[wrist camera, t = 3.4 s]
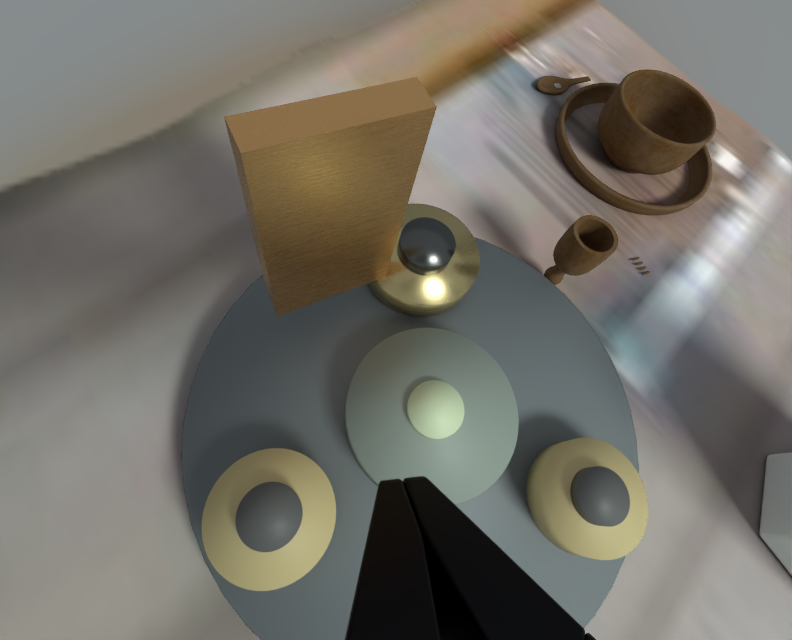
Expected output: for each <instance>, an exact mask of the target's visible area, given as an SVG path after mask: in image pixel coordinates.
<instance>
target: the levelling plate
mask: <svg viewBox="0 0 792 640" xmlns="http://www.w3.org/2000/svg"><path fill="white" fill-rule="evenodd" d="M474 239H475V241H476V244H477V246H478V250H479V256H480V266H479V271H478V274H477V277H476V279H475V281H474V283H473V284H472V286H471V287H470V289H469V290H468V291H467V293H466V294H465V296H464V297H463V298H462V300H461V301H460V302H459V303H458V304H457V305H456V306H455V307H454V308H452V309H451V310H449V311H447V312H445V313H443V314H440V315H437V316H433V317H424V318H421V317H412V316H407V315H404V314H400V313H398V312H396V311H394V310H392V309H390V308H389V307H387V306H386V305H384V304H383V303H382V302H381V301H380V300H379V299H378V298H377V297H376V296H375V295H374V294H373V293H372V291H371V290H370V288H369V286H368V284H365V285H363V286H360V287H357V288H354V289H352V290H349V291H346V292H343V293H341V294H338V295H335V296H332V297H330V298H327V299H324V300H321V301H319V302H316V303H313V304H310V305H308V306H305V307H302V308H299V309H297V310H294V311H291V312H288V313H286V314H283V315H280V316H277V314H276V312H275V310H274V307H273V305H272V303H271V300H270V298H269V296H268V293H267V289H266V284H265V280H264V276H263V275H262V276H261V277H260V278H259V279H258V280H257V281H256V282H254V283H253V284H252V285H251V286H250V287H249V288H248V289H247V290H246V291H245V292H244V294H243V295H242V296H241V297H240V298H239V299H238V300H237V302H236V303H235V304H234V305H233V306H232V307H231V308H230V310H229V311H228V313H227V314H226V316H225V317H224V319H223V320H222V322H221V323H220V325H219V326H218V328H217V329H216V331H215V332H214V334H213V336H212V338H211V340H210V342H209V344H208V346H207V348H206V350H205V352H204V354H203V356H202V358H201V360H200V363H199V366H198V369H197V372H196V375H195V377H194V380H193V383H192V386H191V389H190V394H189V399H188V404H187V409H186V413H185V418H184V428H183V443H182V467H183V481H184V492H185V497H186V501H187V506H188V511H189V515H190V520H191V525H192V528H193V531H194V533H195V536H196V539H197V541H198V544H199V547H200V550H201V552H202V555H203V558H204V560H205V562H206V564H207V566H208V568H209V570H210V572H211V573H212V575H213V577H214V579H215V581H216V583H217V584H218V586H219V588H220V590H221V592H222V594H223V595H224V597H225V598H226V599H227V600H228V602H229V603H230V604H231V606H232V607H233V608H234V610H235V611H236V612H237V614H238V615H239V616H240V618H241V619H242V620H243V622H244V623H245V624H246V625H247V626H248V627H249V628H250V629H251V630H252V631H253V632H254V633H255V634H256V635H257V636H258V637H259V638H260V639H261V640H345V635H346V631H347V626H348V622H349V617H350V612H351V608H352V603H353V599H354V594H355V590H356V585H357V580H358V576H359V571H360V567H361V562H362V558H363V553H364V548H365V544H366V539H367V535H368V530H369V526H370V521H371V516H372V512H373V507H374V503H375V498H376V494H377V489H378V485H379V482H380V481H382V480H390V479H401V480H402V481H403V480H404V479H405V478H408V477H417V476H425V477H427V478H428V479H429V480H430V481H431V482H432V483H433V484H434V485H435V486H436V487H437V488H438V489H439V490H440V491H441V492H442V493H444V494H445V495H446V496H447V497H448V498H449V499H450V500H451V501H452V502H453V503H454V504H455V505H456V506H457V507H458V508H459V509H460V510H461V511H462V512H463V513H464V514H465V515H466V516H467V517H469V518H470V519H471V520H472V521H473V522H474V523H475V524H476V525H477V526H478V527H479V528H480V529H481V530H482V531H483V532H484V533H485V534H486V535H487V536H488V537H489V538H490V539H491V540H492V541H494V542H495V543H496V544H497V545H498V546H499V547H500V548H501V549H502V550H503V551H504V552H505V553H506V554H507V555H508V556H509V557H510V558H511V559H512V560H513V561H514V562H515V563H516V564H517V565H519V566H520V567H521V568H522V569H523V570H524V571H525V572H526V573H527V574H528V575H529V576H530V577H531V578H532V579H533V580H534V581H535V582H536V583H537V584H538V585H539V586H540V587H541V588H542V589H544V590H545V591H546V592H547V593H548V594H549V595H550V596H551V597H552V598H553V599H554V600H555V601H556V602H557V603H558V604H559V605H560V606H561V607H562V608H563V609H564V610H565V611H566V612H567V613H569V614H570V615H571V616H572V617H573V618H574V619H575V620H576V621H577V622H578V623H579V624H580V625H581V626H582V627H583V628H585V626H586V625H587V624H588V623H589V622H590V620H591V619H592V618H593V617H594V616H595V614H596V612H597V611H598V609H599V608H600V606H601V604H602V603H603V601H604V599H605V598H606V596H607V595H608V593H609V591H610V590H611V588H612V586H613V584H614V581H615V579H616V577H617V574H618V572H619V570H620V568H621V565H622V563H623V561H624V558H625V555H627V554H628V553H630V552H631V551H632V550H633V549H634V548H635V547H636V546H637V545H638V544H639V542H640V540H641V539H642V537H643V535H644V532H645V529H646V526H647V521H648V500H647V495H646V491H645V488H644V485H643V482H642V480H641V478H640V476H639V465H638V453H637V442H636V435H635V430H634V425H633V420H632V415H631V410H630V407H629V404H628V401H627V398H626V395H625V392H624V388H623V385H622V383H621V380H620V378H619V376H618V374H617V371H616V369H615V367H614V365H613V362H612V360H611V358H610V356H609V354H608V353H607V351H606V349H605V348H604V346H603V344H602V342H601V341H600V339H599V337H598V335H597V334H596V333H595V331H594V330H593V328H592V327H591V326H590V324H589V323H588V321H587V320H586V319H585V317H584V316H583V315H582V313H581V312H580V311H579V310H578V309H577V308H576V307H575V305H574V304H573V303H572V302H571V301H570V300H569V299H568V298H567V296H566V295H565V294H564V293H562V292H561V291H560V290H559V289H558V288H557V287H556V286H555V285H554V284H553V283H552V282H550V281H549V280H548V279H547V278H546V277H545V276H543V275H542V274H541V273H539V272H538V271H537V270H535V269H534V268H533V267H531V266H530V265H528V264H527V263H526V262H524V261H522V260H521V259H519V258H517V257H515V256H514V255H512V254H510V253H509V252H507V251H505V250H503V249H501V248H499V247H497V246H495V245H492V244H490V243H488V242H486V241H484V240H481V239H478V238H475V237H474Z"/></svg>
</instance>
